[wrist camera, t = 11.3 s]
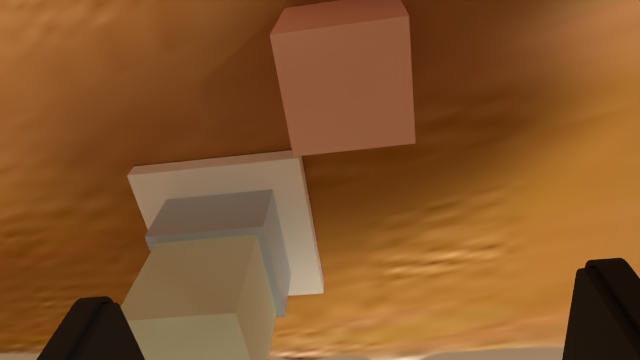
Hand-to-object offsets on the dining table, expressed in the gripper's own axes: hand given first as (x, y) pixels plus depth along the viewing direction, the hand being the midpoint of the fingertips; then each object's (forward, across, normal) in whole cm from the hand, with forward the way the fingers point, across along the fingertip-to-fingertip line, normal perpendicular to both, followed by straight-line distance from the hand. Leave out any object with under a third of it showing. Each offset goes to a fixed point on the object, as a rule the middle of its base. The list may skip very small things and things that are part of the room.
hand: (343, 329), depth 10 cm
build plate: (+20, +9, +11) cm, 24 cm away
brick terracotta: (+20, 0, 0) cm, 20 cm away
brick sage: (+15, +9, +11) cm, 20 cm away
